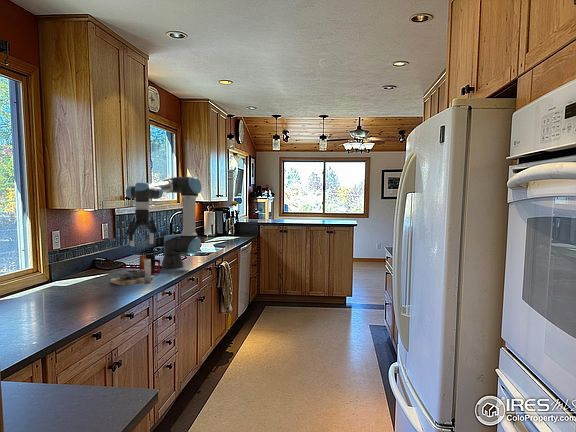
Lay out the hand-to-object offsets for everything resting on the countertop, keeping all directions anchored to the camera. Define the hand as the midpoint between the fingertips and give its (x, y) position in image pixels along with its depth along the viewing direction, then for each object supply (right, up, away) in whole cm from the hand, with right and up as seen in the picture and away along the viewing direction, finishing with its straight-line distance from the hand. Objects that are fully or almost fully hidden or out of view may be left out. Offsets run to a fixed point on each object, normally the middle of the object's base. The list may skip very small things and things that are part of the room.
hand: (142, 245), depth 226 cm
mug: (-5, -21, +27) cm, 35 cm away
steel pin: (+3, -23, +1) cm, 23 cm away
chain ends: (-8, -22, +5) cm, 24 cm away
